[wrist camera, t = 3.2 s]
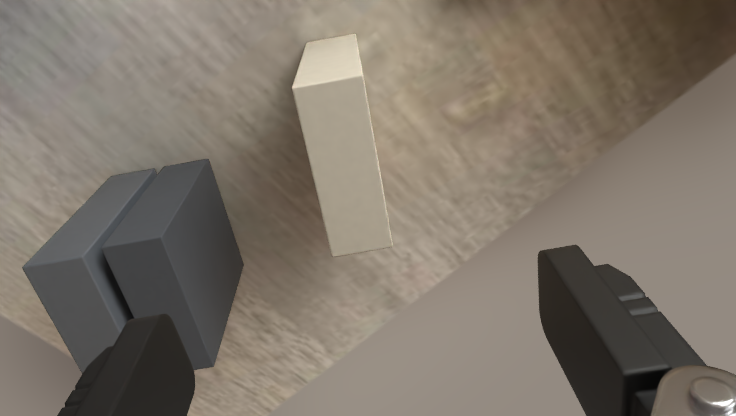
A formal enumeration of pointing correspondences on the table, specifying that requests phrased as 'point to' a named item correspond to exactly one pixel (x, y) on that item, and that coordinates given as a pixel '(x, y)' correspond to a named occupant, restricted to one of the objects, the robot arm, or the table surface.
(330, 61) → the cream book
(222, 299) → the grey books
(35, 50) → the table surface
